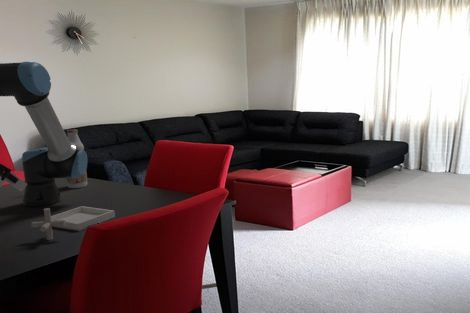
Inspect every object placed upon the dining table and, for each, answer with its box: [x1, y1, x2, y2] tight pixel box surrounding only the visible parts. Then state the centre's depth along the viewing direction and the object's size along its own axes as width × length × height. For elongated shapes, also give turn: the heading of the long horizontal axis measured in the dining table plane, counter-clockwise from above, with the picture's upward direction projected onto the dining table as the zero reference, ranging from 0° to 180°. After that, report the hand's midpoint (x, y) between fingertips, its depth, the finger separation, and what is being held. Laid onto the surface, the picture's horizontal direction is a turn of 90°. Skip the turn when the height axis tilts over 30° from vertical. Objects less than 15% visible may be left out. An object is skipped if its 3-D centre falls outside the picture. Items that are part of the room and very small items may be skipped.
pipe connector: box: [31, 207, 65, 241], centre depth 143 cm, size 10×10×10 cm
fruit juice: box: [66, 129, 88, 189], centre depth 219 cm, size 9×9×28 cm
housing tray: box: [51, 205, 116, 232], centre depth 162 cm, size 17×17×2 cm
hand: (13, 185), depth 135 cm, fingers open, 13 cm apart
